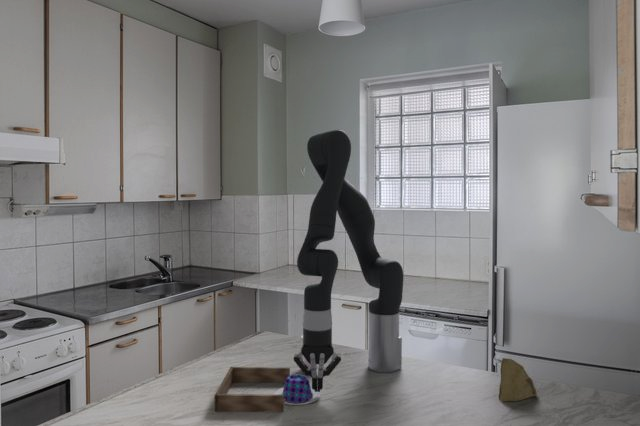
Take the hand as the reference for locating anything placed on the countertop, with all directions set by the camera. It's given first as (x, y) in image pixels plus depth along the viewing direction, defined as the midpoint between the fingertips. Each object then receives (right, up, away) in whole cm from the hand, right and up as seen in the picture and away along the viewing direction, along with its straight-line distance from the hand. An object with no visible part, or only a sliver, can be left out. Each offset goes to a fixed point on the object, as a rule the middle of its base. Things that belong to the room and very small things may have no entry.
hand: (317, 390), depth 125 cm
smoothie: (-2, -1, +20) cm, 21 cm away
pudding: (-5, -2, 0) cm, 6 cm away
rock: (+53, -2, 0) cm, 53 cm away
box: (-16, -2, +1) cm, 16 cm away
